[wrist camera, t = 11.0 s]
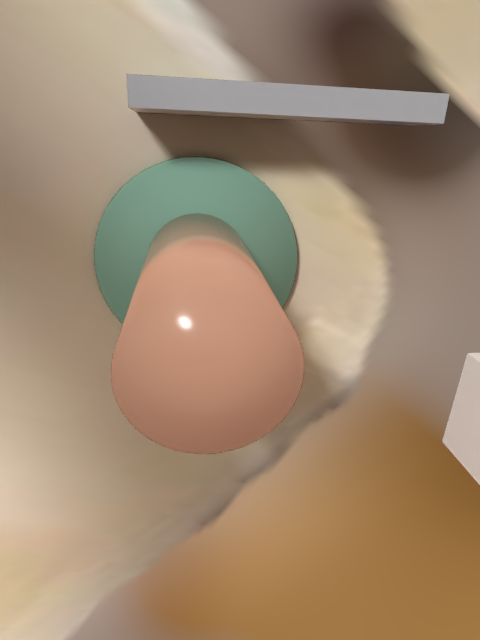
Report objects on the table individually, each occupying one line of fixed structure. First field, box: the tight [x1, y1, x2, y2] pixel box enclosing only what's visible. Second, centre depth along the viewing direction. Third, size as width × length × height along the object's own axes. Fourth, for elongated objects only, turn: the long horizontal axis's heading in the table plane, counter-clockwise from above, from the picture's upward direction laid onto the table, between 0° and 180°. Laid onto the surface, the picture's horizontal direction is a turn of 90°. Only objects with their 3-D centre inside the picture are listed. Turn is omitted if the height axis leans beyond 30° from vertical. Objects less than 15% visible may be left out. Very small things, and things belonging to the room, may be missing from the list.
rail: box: [127, 74, 450, 126], centre depth 20 cm, size 14×1×3 cm, turn 88°
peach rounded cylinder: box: [111, 213, 304, 454], centre depth 18 cm, size 6×6×12 cm
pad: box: [94, 157, 297, 324], centre depth 23 cm, size 11×11×1 cm
